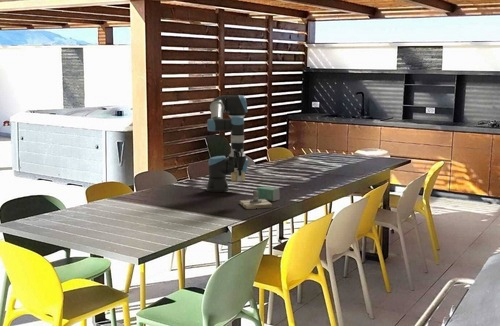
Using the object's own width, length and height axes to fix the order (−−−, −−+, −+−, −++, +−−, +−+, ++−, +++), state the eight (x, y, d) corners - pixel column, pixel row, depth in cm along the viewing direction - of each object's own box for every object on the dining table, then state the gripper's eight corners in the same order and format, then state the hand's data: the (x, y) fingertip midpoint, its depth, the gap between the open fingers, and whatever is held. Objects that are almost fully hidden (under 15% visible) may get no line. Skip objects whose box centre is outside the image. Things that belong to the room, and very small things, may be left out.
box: (263, 196, 388) (262, 185, 387) (280, 199, 380) (280, 188, 379) (256, 198, 382) (256, 187, 381) (273, 201, 374) (273, 189, 373)
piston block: (239, 203, 368) (239, 189, 366) (264, 202, 372) (264, 187, 371) (246, 209, 352) (246, 194, 351) (272, 207, 357) (272, 192, 355)
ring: (230, 179, 364) (230, 172, 363) (243, 178, 366) (243, 171, 365) (232, 181, 356) (232, 174, 356) (245, 181, 358) (245, 173, 357)
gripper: (228, 140, 367) (228, 177, 370) (235, 144, 347) (235, 182, 350) (240, 140, 369) (240, 176, 372) (247, 143, 349) (248, 182, 352)
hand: (238, 179), depth 361 cm, fingers closed on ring, 8 cm apart
